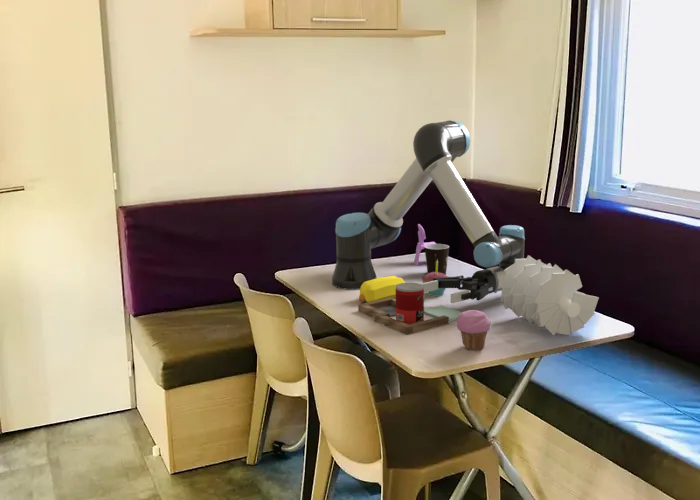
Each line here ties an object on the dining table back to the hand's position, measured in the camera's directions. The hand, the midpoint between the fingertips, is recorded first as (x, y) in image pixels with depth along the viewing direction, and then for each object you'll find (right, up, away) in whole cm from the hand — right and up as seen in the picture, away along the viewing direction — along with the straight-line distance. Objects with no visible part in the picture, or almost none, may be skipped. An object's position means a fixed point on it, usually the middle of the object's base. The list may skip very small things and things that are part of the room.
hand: (435, 293), depth 226 cm
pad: (+3, -6, +4) cm, 8 cm away
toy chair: (+4, +7, +64) cm, 65 cm away
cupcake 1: (+3, -2, +25) cm, 25 cm away
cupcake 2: (+7, -13, -24) cm, 29 cm away
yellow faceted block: (-14, -3, +22) cm, 26 cm away
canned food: (-8, -8, -3) cm, 12 cm away
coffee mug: (+5, +4, +47) cm, 48 cm away
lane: (-10, -7, +1) cm, 13 cm away
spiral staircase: (+30, -9, -8) cm, 32 cm away
